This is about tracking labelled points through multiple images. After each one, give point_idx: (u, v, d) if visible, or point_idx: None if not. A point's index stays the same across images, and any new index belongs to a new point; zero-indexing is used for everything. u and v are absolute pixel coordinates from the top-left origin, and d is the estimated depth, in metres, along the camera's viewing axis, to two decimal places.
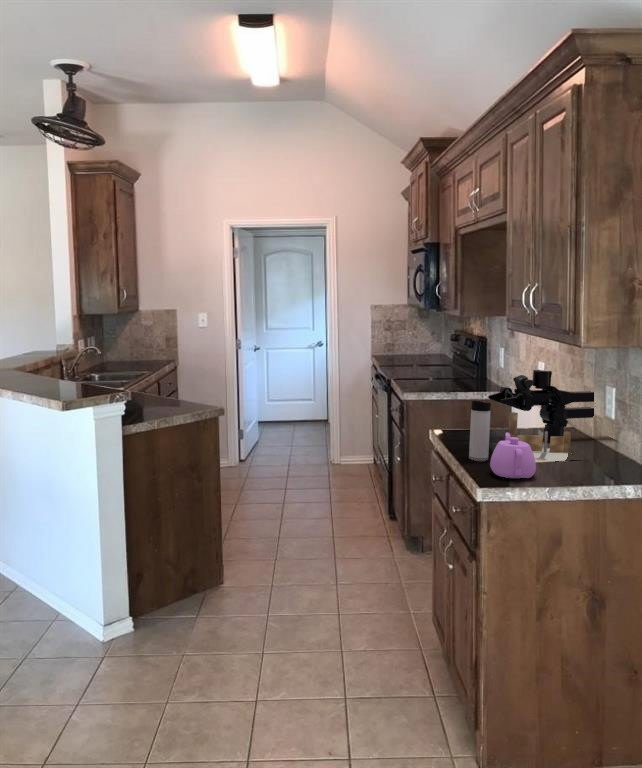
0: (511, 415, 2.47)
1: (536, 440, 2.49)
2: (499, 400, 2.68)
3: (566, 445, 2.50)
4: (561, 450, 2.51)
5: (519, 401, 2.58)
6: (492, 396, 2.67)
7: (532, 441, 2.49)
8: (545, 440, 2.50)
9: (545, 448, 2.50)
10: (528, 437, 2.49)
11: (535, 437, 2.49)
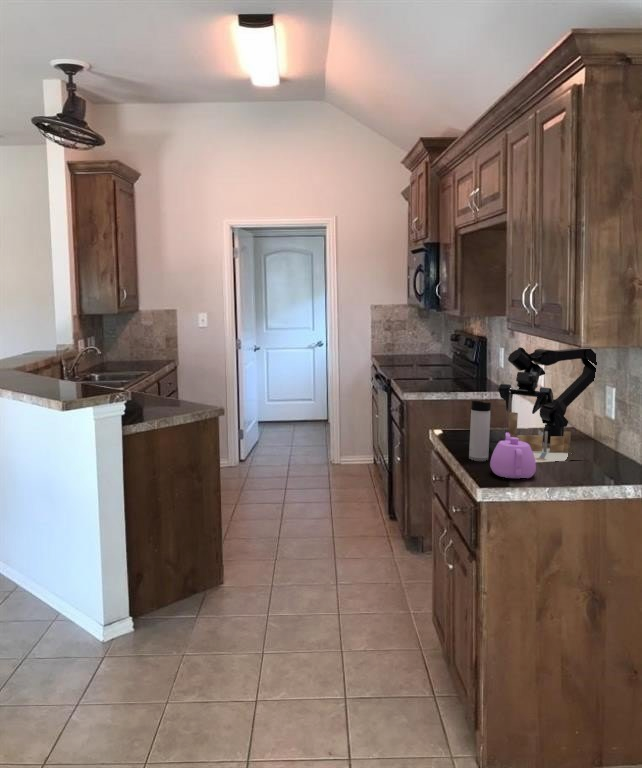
0: (511, 415, 2.47)
1: (536, 440, 2.49)
2: (510, 402, 2.60)
3: (566, 445, 2.50)
4: (561, 450, 2.51)
5: (542, 399, 2.54)
6: (508, 406, 2.57)
7: (532, 441, 2.49)
8: (545, 440, 2.50)
9: (545, 448, 2.50)
10: (528, 437, 2.49)
11: (535, 437, 2.49)
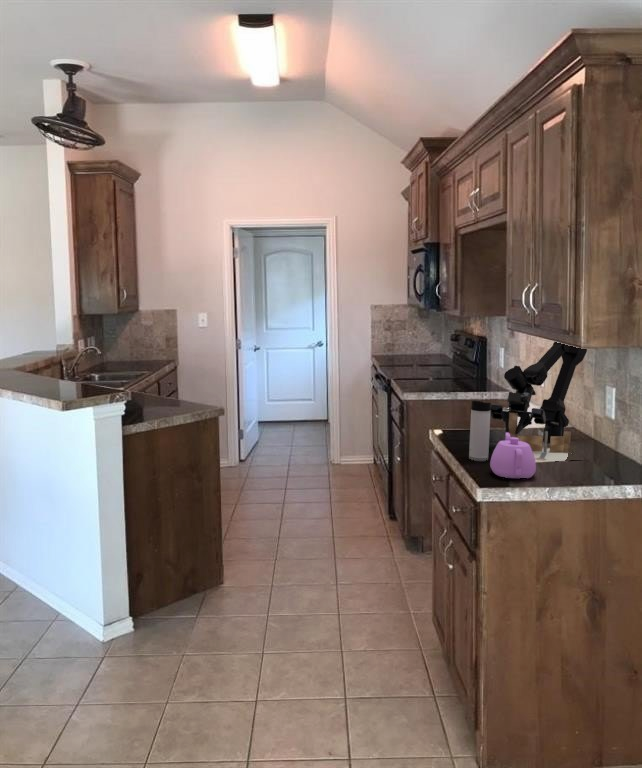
0: (511, 415, 2.47)
1: (536, 440, 2.49)
2: None
3: (566, 445, 2.50)
4: (561, 450, 2.51)
5: (525, 419, 2.49)
6: (508, 428, 2.49)
7: (532, 441, 2.49)
8: (545, 440, 2.50)
9: (545, 448, 2.50)
10: (528, 437, 2.49)
11: (535, 437, 2.49)
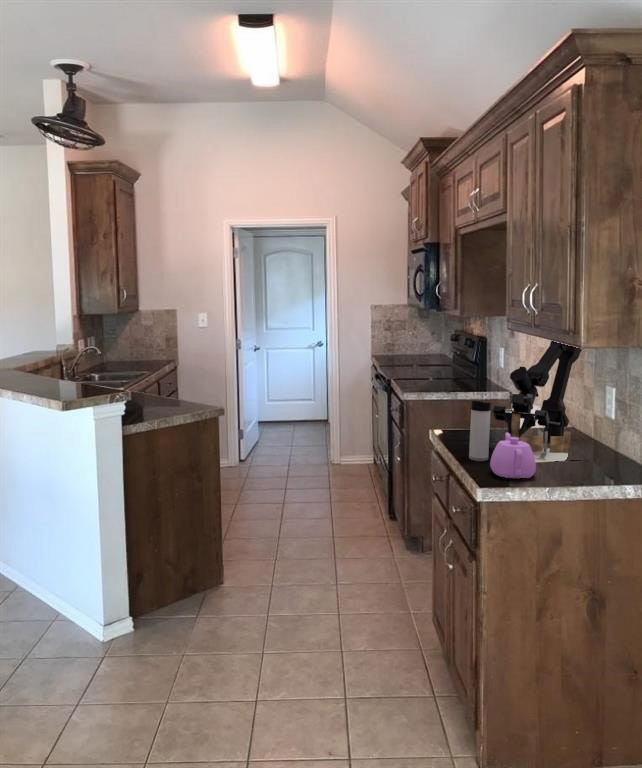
0: (514, 416, 2.45)
1: (537, 440, 2.49)
2: None
3: (566, 445, 2.50)
4: (561, 450, 2.51)
5: (529, 421, 2.46)
6: (510, 430, 2.47)
7: (533, 441, 2.48)
8: (545, 440, 2.50)
9: (545, 448, 2.50)
10: (530, 438, 2.48)
11: (536, 437, 2.49)
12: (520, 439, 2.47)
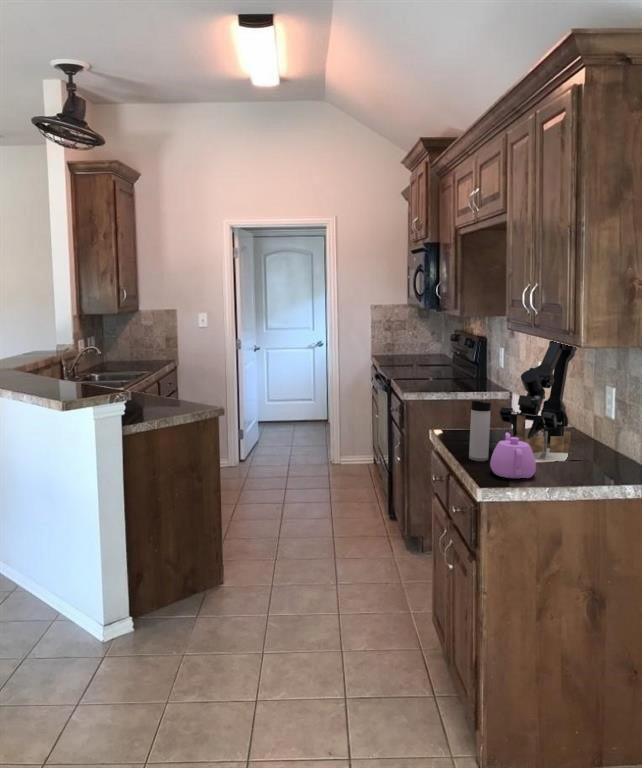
0: (520, 418, 2.42)
1: (539, 441, 2.48)
2: None
3: (566, 445, 2.50)
4: (561, 450, 2.51)
5: (538, 423, 2.43)
6: (515, 431, 2.44)
7: (536, 442, 2.47)
8: (545, 440, 2.50)
9: (545, 448, 2.50)
10: (533, 439, 2.47)
11: (538, 438, 2.48)
12: (525, 440, 2.45)
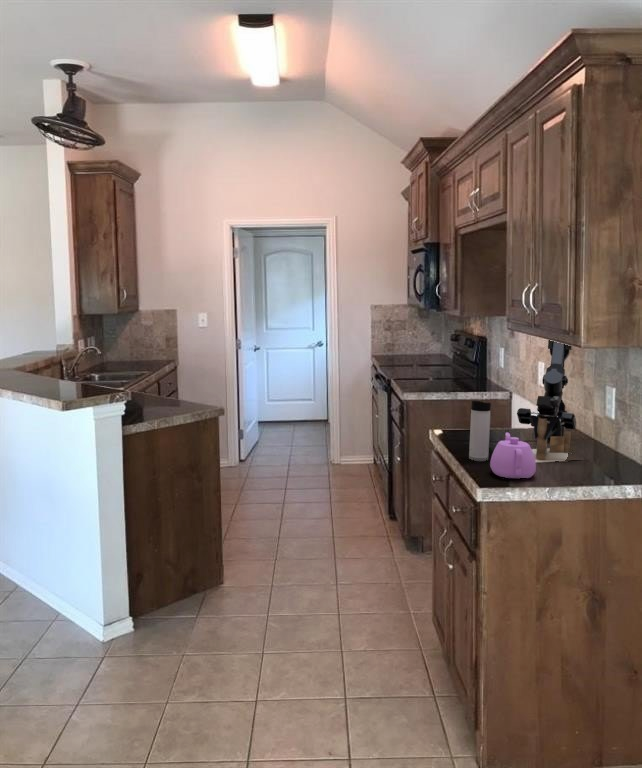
0: (545, 421, 2.37)
1: (546, 442, 2.47)
2: None
3: (566, 445, 2.50)
4: (561, 450, 2.51)
5: (555, 424, 2.39)
6: (536, 433, 2.39)
7: None
8: None
9: None
10: None
11: None
12: None
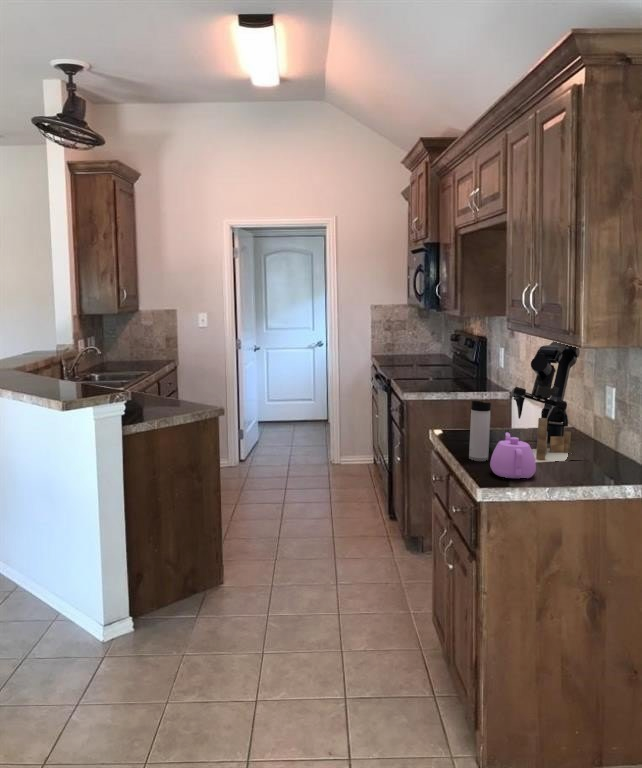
0: (545, 421, 2.37)
1: (546, 442, 2.47)
2: None
3: (566, 445, 2.50)
4: (561, 450, 2.51)
5: None
6: (520, 413, 2.52)
7: None
8: None
9: None
10: None
11: (546, 439, 2.46)
12: None
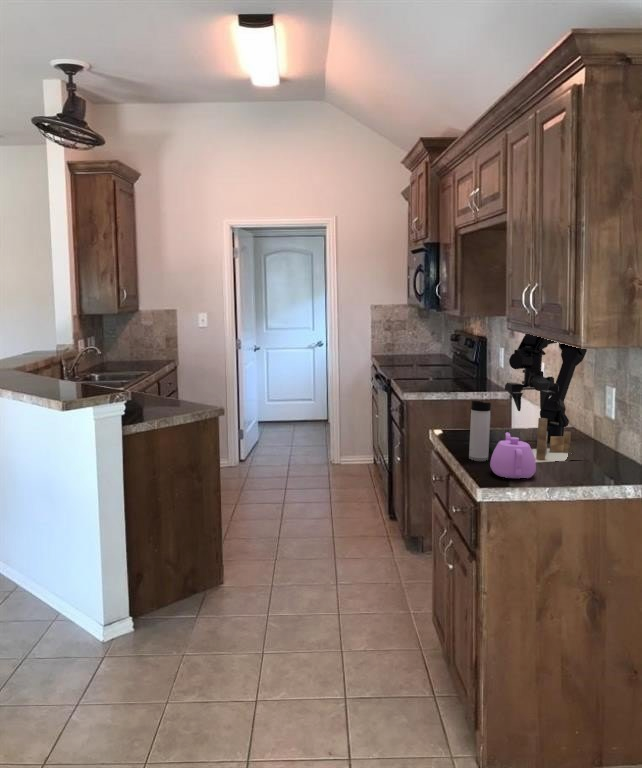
0: (545, 421, 2.37)
1: (546, 442, 2.47)
2: None
3: (566, 445, 2.50)
4: (561, 450, 2.51)
5: None
6: None
7: None
8: None
9: None
10: None
11: (546, 439, 2.46)
12: None
